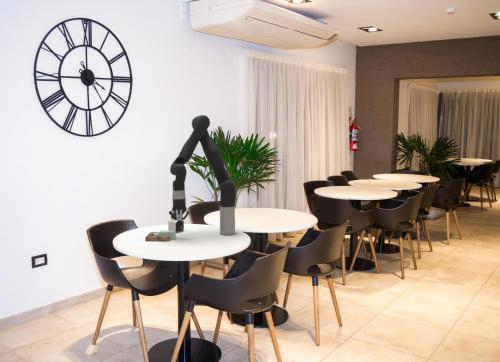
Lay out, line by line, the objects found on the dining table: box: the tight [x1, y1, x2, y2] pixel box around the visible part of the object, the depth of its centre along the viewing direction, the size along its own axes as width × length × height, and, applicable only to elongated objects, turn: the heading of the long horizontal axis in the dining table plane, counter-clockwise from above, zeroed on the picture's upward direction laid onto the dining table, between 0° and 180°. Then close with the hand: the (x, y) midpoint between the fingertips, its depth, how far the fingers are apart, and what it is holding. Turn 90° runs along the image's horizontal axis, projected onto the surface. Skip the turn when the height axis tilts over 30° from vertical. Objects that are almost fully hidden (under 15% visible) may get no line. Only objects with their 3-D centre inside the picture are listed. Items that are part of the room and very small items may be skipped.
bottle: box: [152, 229, 177, 241], centre depth 279 cm, size 5×5×14 cm
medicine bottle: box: [167, 212, 185, 234], centre depth 298 cm, size 7×7×12 cm
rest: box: [145, 231, 171, 242], centre depth 279 cm, size 14×13×2 cm
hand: (180, 226), depth 278 cm, fingers closed
